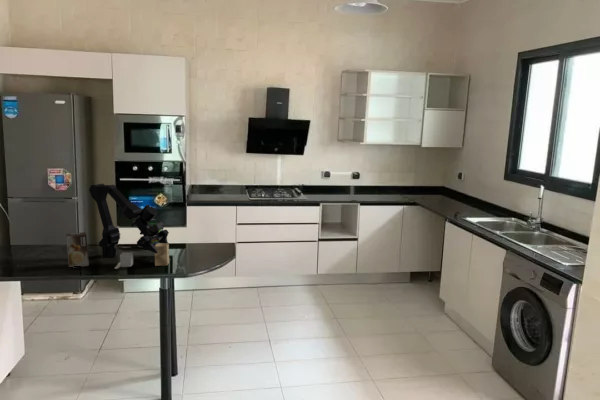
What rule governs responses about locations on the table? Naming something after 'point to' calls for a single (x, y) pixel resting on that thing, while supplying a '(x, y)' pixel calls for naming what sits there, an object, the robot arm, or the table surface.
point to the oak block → (162, 254)
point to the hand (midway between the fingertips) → (163, 250)
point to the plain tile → (117, 266)
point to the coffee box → (77, 249)
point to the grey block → (126, 259)
